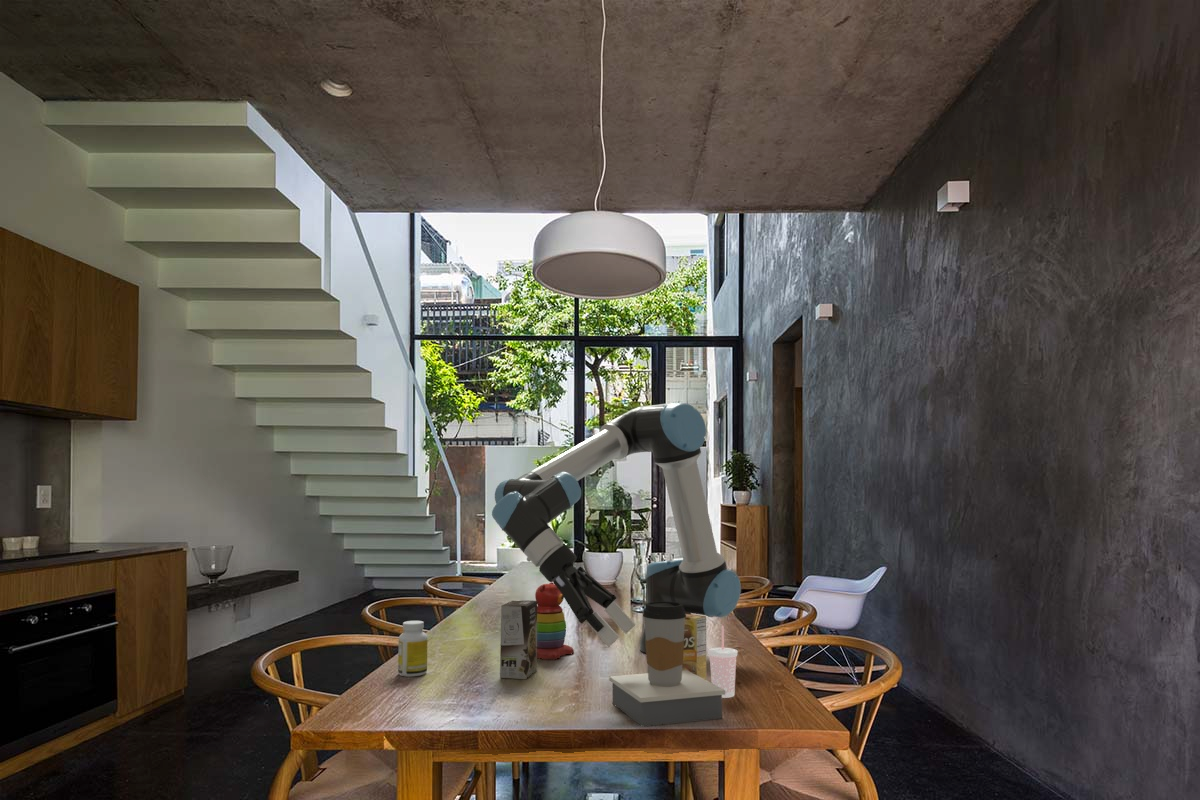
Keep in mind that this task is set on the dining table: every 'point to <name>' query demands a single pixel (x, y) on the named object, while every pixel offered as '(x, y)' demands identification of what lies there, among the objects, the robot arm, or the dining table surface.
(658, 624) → the coffee cup
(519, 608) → the coffee box
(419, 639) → the pill bottle
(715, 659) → the beverage cup
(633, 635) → the dining table surface
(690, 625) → the candy box
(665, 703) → the lidded box
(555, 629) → the stacking bear
